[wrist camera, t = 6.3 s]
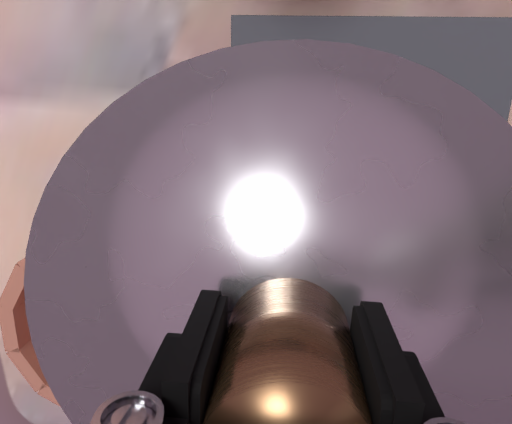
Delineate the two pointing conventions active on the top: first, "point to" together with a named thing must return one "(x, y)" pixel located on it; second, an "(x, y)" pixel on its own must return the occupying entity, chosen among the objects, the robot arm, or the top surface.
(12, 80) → the top surface
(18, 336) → the bowl
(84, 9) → the top surface
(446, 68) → the mat
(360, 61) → the lid
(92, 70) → the top surface
